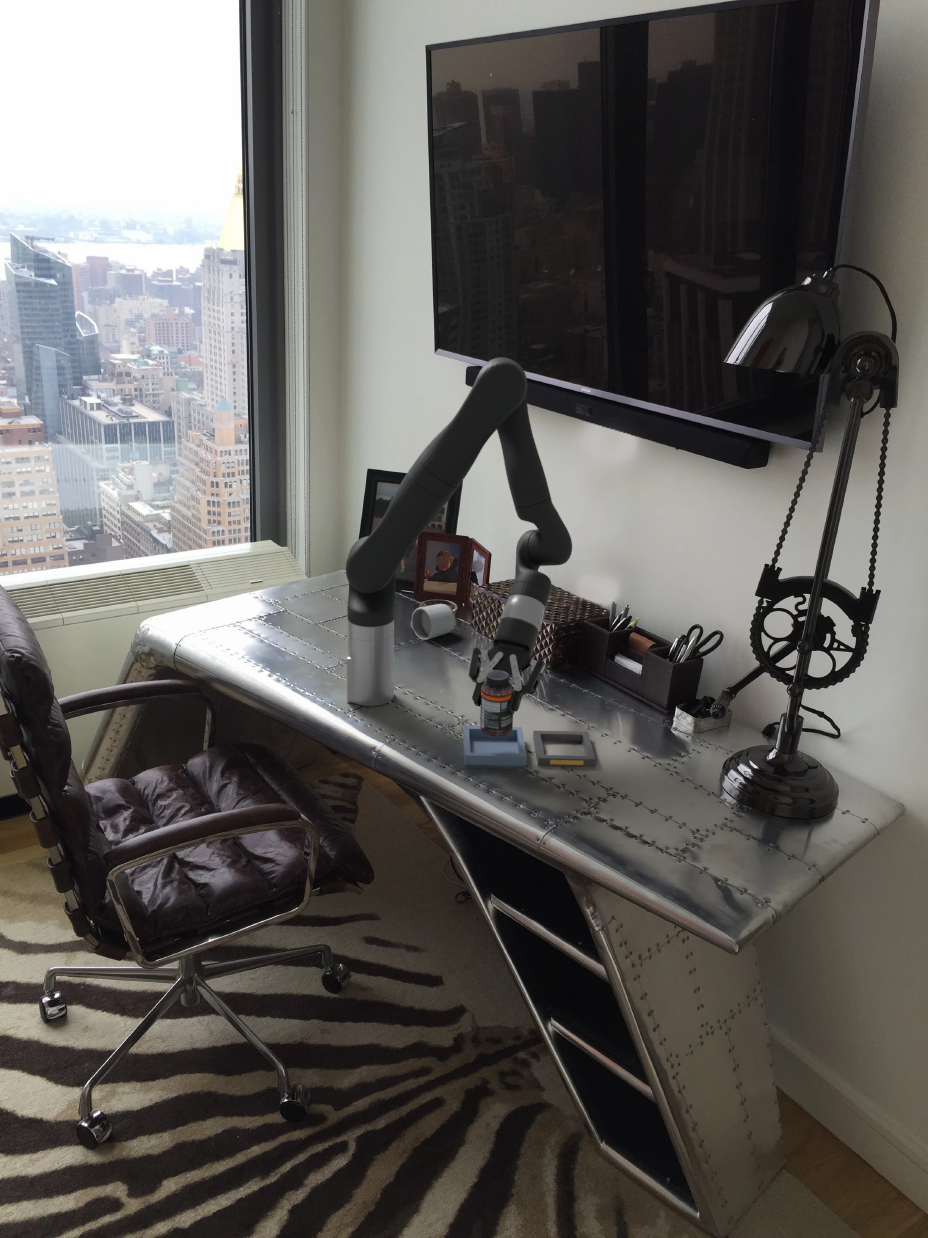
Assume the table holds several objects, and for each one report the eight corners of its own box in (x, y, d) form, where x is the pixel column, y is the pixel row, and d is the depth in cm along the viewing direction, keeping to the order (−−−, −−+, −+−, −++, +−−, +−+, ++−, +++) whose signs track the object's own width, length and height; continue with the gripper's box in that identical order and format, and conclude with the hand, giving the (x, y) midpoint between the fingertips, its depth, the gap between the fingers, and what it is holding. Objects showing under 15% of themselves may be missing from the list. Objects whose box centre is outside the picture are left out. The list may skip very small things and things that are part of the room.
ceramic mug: (457, 635, 233) (458, 605, 231) (431, 644, 228) (431, 613, 225) (427, 623, 240) (428, 593, 238) (402, 631, 235) (402, 600, 232)
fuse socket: (537, 765, 179) (538, 758, 178) (532, 737, 189) (533, 730, 188) (595, 767, 179) (595, 759, 179) (587, 738, 189) (587, 731, 188)
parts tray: (464, 767, 177) (464, 755, 176) (463, 737, 187) (463, 726, 187) (525, 769, 178) (526, 756, 177) (521, 739, 188) (521, 727, 187)
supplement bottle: (491, 719, 185) (493, 664, 180) (518, 728, 182) (521, 672, 177) (473, 731, 180) (475, 675, 176) (500, 741, 177) (503, 684, 173)
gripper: (479, 609, 182) (451, 693, 177) (553, 623, 177) (526, 710, 171) (489, 626, 189) (462, 707, 183) (560, 639, 184) (535, 724, 178)
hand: (493, 708), depth 177 cm, fingers closed on supplement bottle, 6 cm apart
